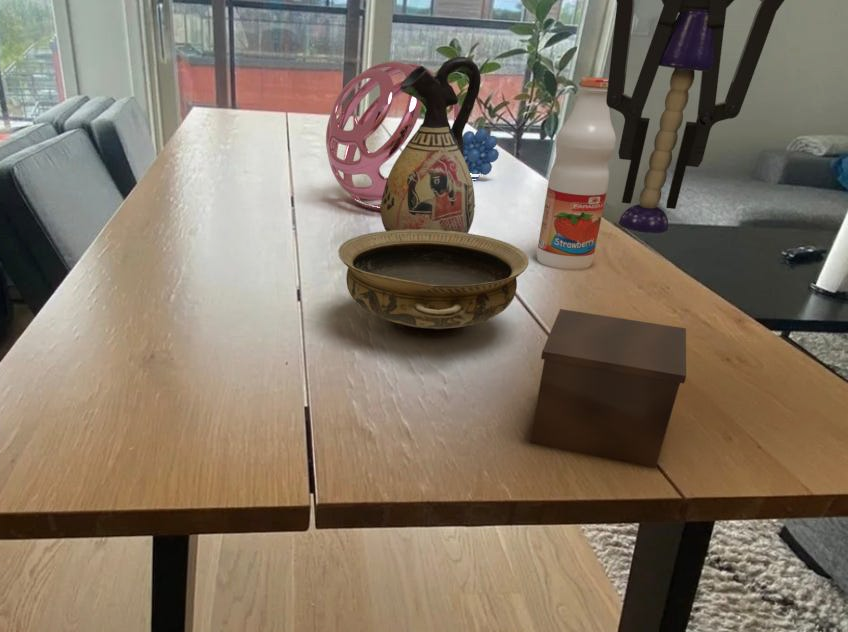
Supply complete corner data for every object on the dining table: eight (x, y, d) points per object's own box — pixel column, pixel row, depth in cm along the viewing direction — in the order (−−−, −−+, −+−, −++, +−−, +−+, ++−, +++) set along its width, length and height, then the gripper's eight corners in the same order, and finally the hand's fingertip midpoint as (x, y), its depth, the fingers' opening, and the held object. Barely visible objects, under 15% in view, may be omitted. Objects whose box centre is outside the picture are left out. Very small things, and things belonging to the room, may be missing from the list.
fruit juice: (572, 253, 136) (605, 76, 121) (602, 269, 128) (642, 82, 113) (525, 256, 133) (553, 74, 118) (554, 272, 125) (588, 81, 111)
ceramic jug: (390, 270, 123) (403, 57, 107) (370, 243, 135) (379, 49, 119) (490, 268, 126) (517, 61, 110) (461, 242, 139) (482, 53, 123)
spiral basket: (440, 94, 168) (364, 9, 147) (516, 148, 152) (444, 61, 131) (360, 199, 176) (278, 134, 155) (424, 261, 160) (343, 197, 139)
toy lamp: (658, 221, 71) (710, 9, 62) (684, 235, 67) (743, 11, 58) (610, 221, 70) (655, 6, 61) (633, 235, 66) (686, 7, 57)
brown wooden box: (661, 416, 82) (686, 328, 77) (658, 472, 72) (686, 375, 67) (544, 394, 86) (560, 308, 80) (525, 445, 75) (542, 351, 70)
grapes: (498, 180, 189) (505, 128, 183) (493, 185, 184) (500, 131, 177) (452, 175, 192) (457, 123, 186) (446, 180, 187) (451, 126, 180)
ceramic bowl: (340, 287, 114) (341, 218, 109) (499, 294, 115) (509, 226, 109) (331, 370, 89) (333, 285, 83) (537, 378, 89) (551, 295, 84)
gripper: (844, -130, 56) (744, 205, 68) (616, -132, 60) (562, 184, 72) (863, -148, 50) (750, 223, 62) (609, -148, 54) (550, 200, 66)
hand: (649, 202), depth 67 cm, fingers closed on toy lamp, 3 cm apart
